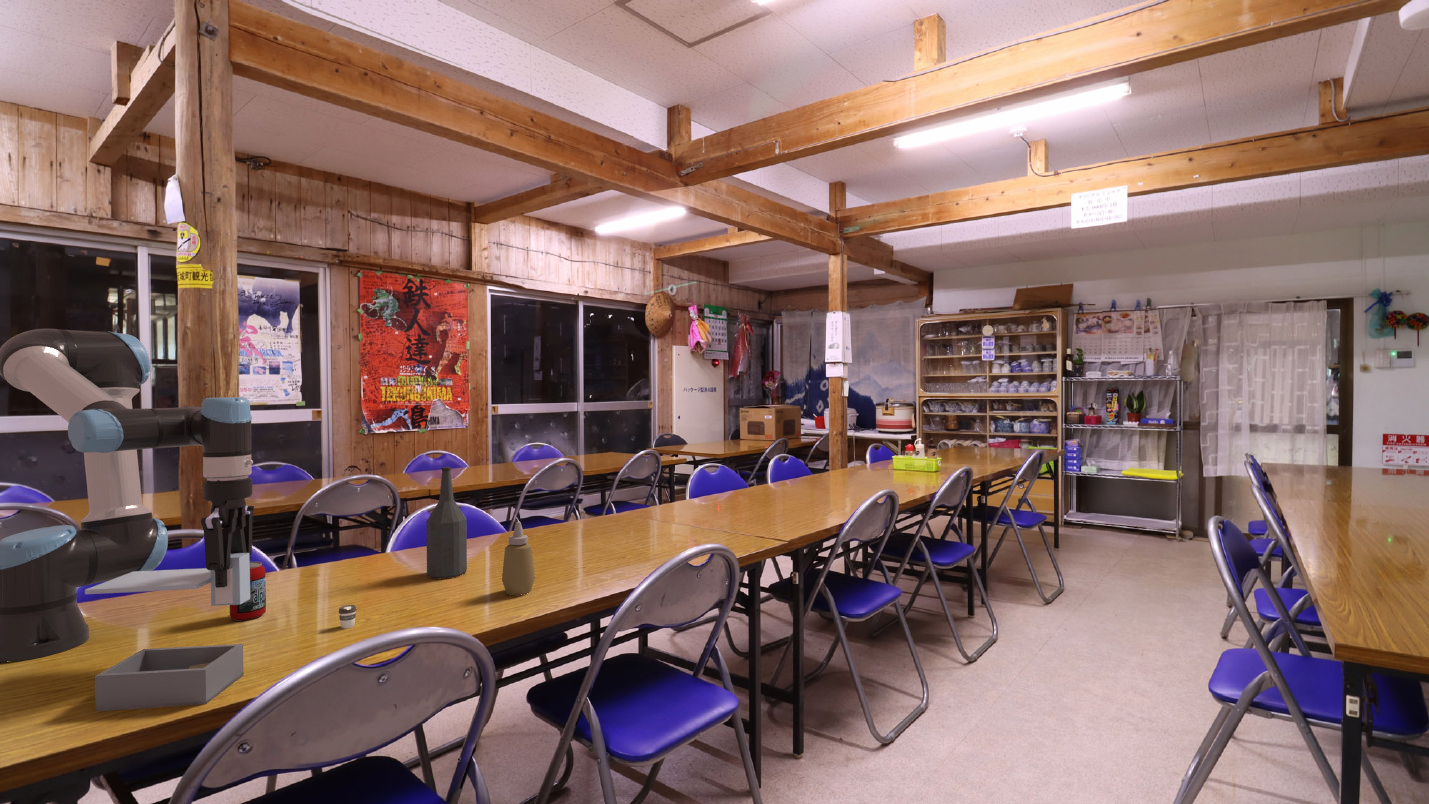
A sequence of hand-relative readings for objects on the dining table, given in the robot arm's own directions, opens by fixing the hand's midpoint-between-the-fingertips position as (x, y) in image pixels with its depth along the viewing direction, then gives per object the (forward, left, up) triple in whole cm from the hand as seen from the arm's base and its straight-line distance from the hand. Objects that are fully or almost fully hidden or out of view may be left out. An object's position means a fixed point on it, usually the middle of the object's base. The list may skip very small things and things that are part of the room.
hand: (230, 599), depth 127 cm
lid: (-12, 0, +4) cm, 12 cm away
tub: (-1, -15, -11) cm, 19 cm away
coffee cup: (+16, +14, -12) cm, 24 cm away
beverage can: (-9, +24, -12) cm, 28 cm away
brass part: (+2, -14, -11) cm, 17 cm away
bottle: (+27, +53, -12) cm, 61 cm away
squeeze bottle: (+49, +33, -12) cm, 60 cm away
